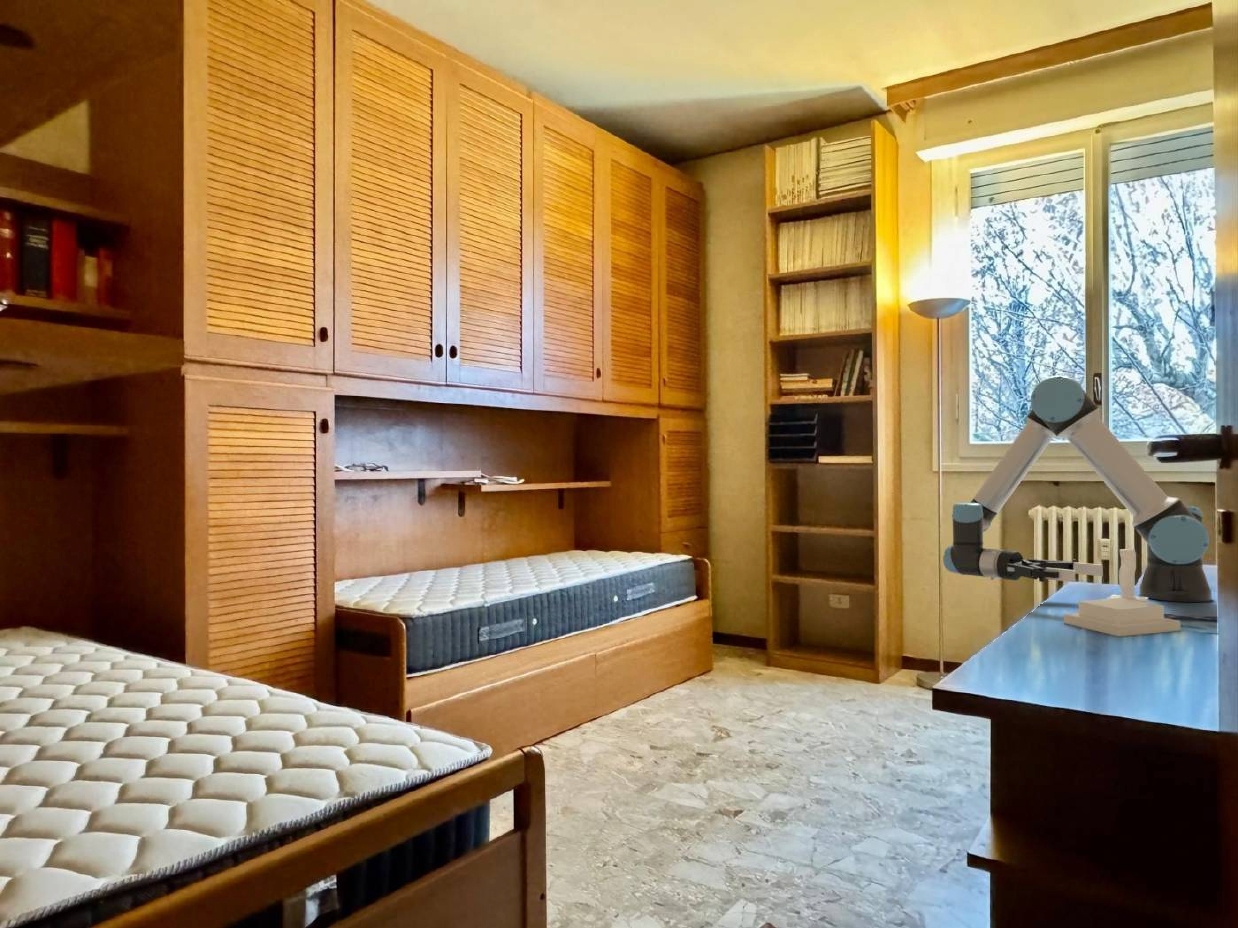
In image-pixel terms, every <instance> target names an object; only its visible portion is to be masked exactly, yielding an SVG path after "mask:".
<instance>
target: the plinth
mask: <svg viewBox="0 0 1238 928" xmlns="http://www.w3.org/2000/svg"><path fill="white" fill-rule="evenodd" d="M1164 611H1165V607H1164V605H1162V604H1158V603H1152V602H1148V601H1147V602H1142V601H1137V600H1132V599H1127V598H1113V599H1108V598H1101V599H1091V600H1089V599H1088V600H1080V601H1078V612H1073V613H1064V614H1063V623H1064V624H1066V625H1070V626H1075V627H1079V628H1083V629H1087V630H1090V631H1095V632H1100V633H1103V634H1107V635H1112V636H1115V637H1127V636H1137V635H1147V634H1158V633H1168V632H1179V631H1181V620H1177V619H1172V618H1168V617H1165V612H1164Z"/></svg>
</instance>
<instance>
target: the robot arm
mask: <svg viewBox="0 0 1238 928" xmlns="http://www.w3.org/2000/svg"><path fill="white" fill-rule="evenodd" d="M1031 392H1032V393H1031V396H1030V405H1031V410H1030V411H1029V413H1028V414H1027V416H1026V417H1025V419H1026V424H1025V425H1024V427H1023V428H1022V430H1021V431H1020V432H1019V434H1018V435H1017V437H1016V438H1015V439H1014V441H1013V442H1012V443H1011V445H1010V446H1009V448H1008V449H1007V451H1006V452H1005V454H1004V455H1003V456H1002V458H1001V459H1000V461H999V462H998V464H996V466H995V467H994V469H993V470H992V472H991V473H990V474H989V476H988V477H987V478H986V480H985V481H984V483H983V485H982V486H981V487H980V489H979V490H978V491H977V493H976V494H975V495H974V496H973V499H972V500H971V501H970V502H957V503H954V504H953V506H952V514H951V518H952V540H953V541H952V545H949V546H947V547H946V548H945V549H944V551H943V552H944V555H943V556H942V561H943V566H944V568H945V570H946V571H948V572H950V573H953V574H959V575H961V576H962V575H963V576H964V575H965V576H974V577H983V578H984V577H985V578H990V580H991V581H994V580H995V579H1002V580H1007V581H1018V580H1019V579H1021V577H1023V578H1027V579H1032V580H1038V581H1039V582H1041V583H1045V580H1051V581H1052V580H1053V581H1059V582H1070V583H1075V582H1076V575H1086V576H1095V577H1103V576H1104V573H1103V572H1104V571H1103V569H1104V568H1103V564H1097V563H1096V564H1095V563H1088V562H1087V563H1086V562H1077V559H1076V558H1075V559H1074V558H1072V560H1071V561H1070V560H1054V559H1053V560H1052V559H1051V560H1050V559H1036V558H1026V559H1024V556H1023V555H1022V553H1020V551H1018V550H1017V551H1016V550H1006V549H1005V550H1003V549H997V548H996V549H995V548H984V532H987V530H988V529H989V528H990V526H991V524H992V522H993V520H994V519H995V518H996V516H998V515H997V514H999V512H1000V511H1001V509H1002V508H1003V507H1004V505H1005V504H1006V503H1007V501H1008V500H1009V498H1010V497H1011V496H1012V495H1013V493H1014V492H1015V490H1016V489H1017V487H1019V485H1020V483H1021V482H1022V480H1023V479H1024V478H1025V477H1026V475H1027V474H1028V473H1029V471H1030V470H1031V468H1032V467H1033V466H1034V464H1035V463H1036V462H1037V460H1038V459H1039V458H1040V457H1041V455H1042V454H1043V452H1044V451H1045V450H1046V448H1047V447H1048V445H1049V444H1050V443H1051V441H1052V440H1053V439H1054V438H1060V439H1061V438H1062V439H1067V440H1068V442H1069V443H1070V444H1071V445H1072V446H1073V448H1075V450H1076V452H1078V454H1080V456H1081V457H1082V458H1083V459H1084V461H1085V462H1086V463H1088V465H1089V467H1091V469H1092V470H1093V471H1094V472H1095V473H1096V474H1097V476H1098V477H1099V478H1100V479H1101V480H1102V481H1103V482H1104V484H1105V486H1107V487H1108V488H1109V490H1110V491H1111V492H1112V494H1114V496H1116V498H1117V499H1118V500H1119V501H1120V503H1121V504H1122V505H1123V506H1124V507H1125V508H1126V509H1127V511H1128V512H1129V513H1130V515H1132V518H1133V519H1132V523H1131V526H1132V527H1133V528H1134V529H1135V530H1136V531H1137V533H1138V535H1140V536H1141V538H1142V539H1143V540H1144V542H1146V568H1145V571H1144V573H1143V576H1142V579H1141V582H1140V584H1139V588H1138V589H1139V591H1138V592H1139V595H1138V596H1140V597H1149V598H1148V599H1153V600H1157V601H1158V600H1159V601H1165V602H1166V601H1167V602H1181V603H1199V602H1201V603H1202V602H1209V601H1211V600H1212V598H1213V595H1212V589H1211V587H1210V585H1209V582H1208V579H1207V577H1206V574H1205V571H1204V569H1203V568H1204V567H1203V566H1204V565H1203V556H1204V555H1205V553H1206V552H1207V550H1208V548H1209V545H1210V534H1209V530H1208V529H1207V528H1206V526H1205V525H1204V524H1203V520H1204V516H1203V513H1202V510H1201V508H1200V507H1196V506H1189V505H1188V506H1187V505H1185V504H1184V503H1183V502H1182V500H1181V499H1180V498H1178V497H1174V496H1173V497H1172V496H1168V495H1167V494H1166V493H1165V492H1164V491H1163V490H1162V488H1161V487H1160V486H1159V484H1157V483H1156V482H1155V481H1154V479H1153V478H1152V477H1151V475H1149V473H1148V472H1147V471H1146V470H1145V469H1144V468H1143V466H1142V465H1141V464H1140V463H1139V462H1138V461H1137V460H1136V458H1135V457H1134V456H1133V455H1132V453H1130V452H1129V451H1128V450H1127V448H1126V447H1124V445H1123V444H1122V443H1121V441H1120V440H1119V439H1118V438H1117V437H1116V436H1115V434H1113V432H1112V431H1111V430H1110V429H1109V428H1108V427H1107V426H1106V424H1104V422H1103V421H1102V420H1101V418H1100V410H1101V409H1100V407H1099V406H1098V405H1097V404H1096V403H1095V402H1094V400H1093V399H1092V398H1091V397H1090V396H1089V395H1088V394H1087V393H1086V392H1085V390H1084V389H1083V388H1082V385H1081V384H1080V383H1079V382H1078V381H1077V380H1076V379H1074V378H1072V377H1070V376H1067V375H1059V374H1058V375H1052V376H1049V377H1047V378H1045V379H1043V380H1042V381H1040V382H1039V383H1037V385H1036V386H1035V387H1034V389H1033V390H1032V391H1031Z"/></svg>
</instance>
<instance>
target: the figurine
mask: <svg viewBox="0 0 1238 928" xmlns="http://www.w3.org/2000/svg"><path fill="white" fill-rule="evenodd" d="M1118 552H1119V557H1120V568H1119V570H1118V578H1119V579H1118V586H1119V589H1120V591H1121V594H1115V593H1113V594H1111V595H1110V596H1109V597H1107V599H1113V598H1127V599H1132V600H1137V601H1142V602H1148V599H1150V598H1149V597H1143V596H1141V595H1135V593H1136V592H1135V586H1136V585H1135V583H1136V582H1135V572H1136V570H1137V552H1136V549H1135V548H1123V549H1122V548H1121V549H1119V551H1118Z"/></svg>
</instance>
